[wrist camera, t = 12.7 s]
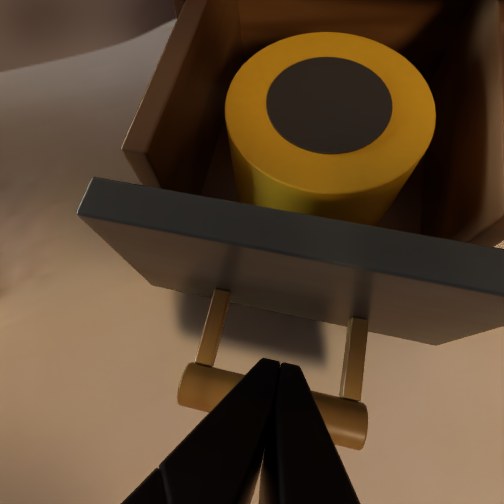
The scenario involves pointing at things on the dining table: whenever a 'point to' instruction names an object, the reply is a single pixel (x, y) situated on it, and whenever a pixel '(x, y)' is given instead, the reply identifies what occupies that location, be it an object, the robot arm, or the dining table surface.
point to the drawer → (308, 226)
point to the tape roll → (327, 126)
